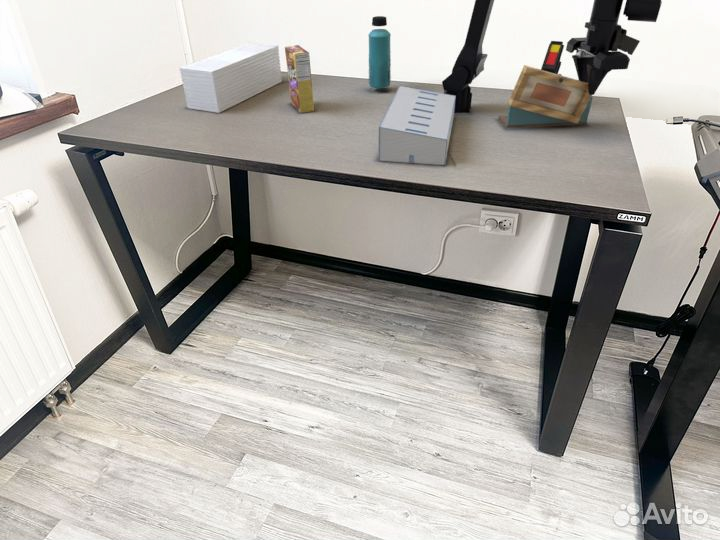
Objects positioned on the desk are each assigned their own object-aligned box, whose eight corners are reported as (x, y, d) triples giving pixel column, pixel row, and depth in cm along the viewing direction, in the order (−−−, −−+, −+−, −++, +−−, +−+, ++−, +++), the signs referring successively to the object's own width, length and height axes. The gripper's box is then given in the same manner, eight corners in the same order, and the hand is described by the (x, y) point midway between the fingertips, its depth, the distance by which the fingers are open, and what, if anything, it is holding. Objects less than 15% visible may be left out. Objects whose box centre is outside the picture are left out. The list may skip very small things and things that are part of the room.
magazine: (557, 86, 149) (564, 40, 137) (547, 119, 144) (554, 74, 131) (544, 85, 151) (550, 39, 138) (533, 117, 145) (538, 73, 133)
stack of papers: (253, 78, 168) (248, 42, 162) (281, 81, 164) (278, 45, 158) (187, 108, 144) (179, 67, 138) (218, 113, 140) (211, 71, 134)
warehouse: (445, 165, 110) (448, 130, 106) (378, 160, 113) (378, 126, 109) (453, 117, 134) (456, 88, 130) (398, 115, 137) (399, 85, 132)
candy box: (289, 104, 146) (284, 46, 137) (304, 101, 147) (299, 44, 138) (299, 113, 139) (294, 53, 130) (314, 111, 140) (310, 51, 132)
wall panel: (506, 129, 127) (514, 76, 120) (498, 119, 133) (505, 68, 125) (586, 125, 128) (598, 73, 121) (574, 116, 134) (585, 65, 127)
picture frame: (510, 106, 121) (527, 67, 116) (507, 103, 123) (524, 64, 118) (578, 124, 125) (596, 86, 120) (574, 120, 127) (592, 84, 122)
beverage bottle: (390, 93, 152) (392, 18, 141) (368, 93, 152) (367, 18, 141) (390, 86, 158) (391, 14, 146) (368, 87, 158) (367, 14, 146)
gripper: (664, 25, 106) (641, 102, 115) (618, 10, 121) (601, 79, 130) (611, 27, 105) (592, 105, 114) (572, 11, 120) (558, 81, 129)
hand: (587, 91), depth 122 cm, fingers open, 4 cm apart
